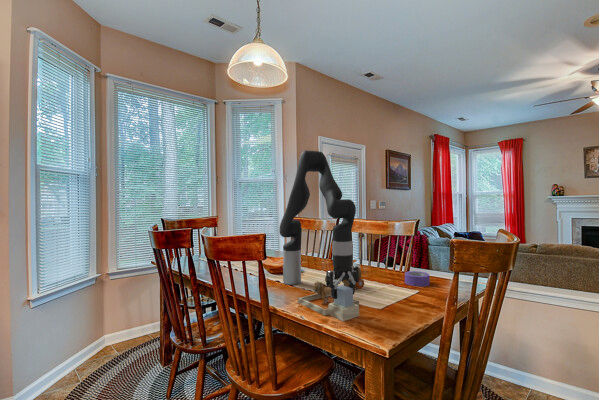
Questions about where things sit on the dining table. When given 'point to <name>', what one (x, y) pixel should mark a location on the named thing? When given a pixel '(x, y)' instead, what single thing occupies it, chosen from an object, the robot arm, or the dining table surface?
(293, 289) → the dining table surface
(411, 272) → the tape roll
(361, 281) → the toy helicopter
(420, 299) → the dining table surface
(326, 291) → the lion figurine
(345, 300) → the fin block
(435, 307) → the dining table surface
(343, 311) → the grey rectangular frame
